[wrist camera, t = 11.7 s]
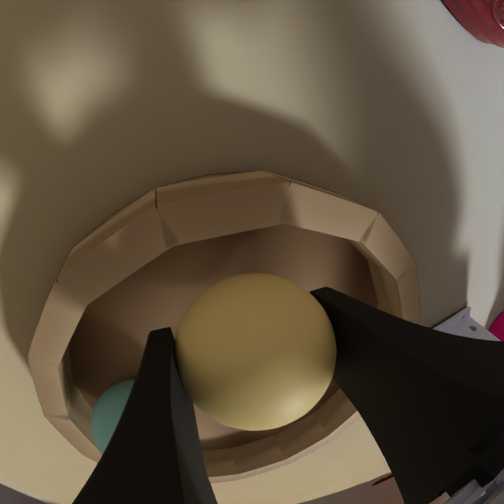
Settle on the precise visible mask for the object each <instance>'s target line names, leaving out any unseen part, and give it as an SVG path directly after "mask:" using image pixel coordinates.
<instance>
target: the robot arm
mask: <svg viewBox="0 0 504 504" xmlns="http://www.w3.org/2000/svg"><path fill="white" fill-rule="evenodd" d="M310 294H311V295H312V296H313V297H314V298H315V299H316V300H317V301H318V302H319V303H320V305H321V306H322V307H323V309H324V310H325V312H326V314H327V316H328V318H329V319H330V321H331V324H332V327H333V331H334V334H335V339H336V348H337V353H336V365H335V369H334V373H333V376H332V378H333V379H334V380H335V382H336V383H337V384H338V386H339V387H340V388H341V390H342V391H343V392H344V394H345V395H346V396H347V397H348V399H349V400H350V401H351V403H352V404H353V405H354V407H355V408H356V409H357V411H358V412H359V414H360V415H361V417H362V418H363V420H364V422H365V423H366V425H367V427H368V428H369V430H370V432H371V433H372V435H373V437H374V439H375V441H376V442H377V444H378V446H379V448H380V450H381V452H382V454H383V455H384V457H385V459H386V461H387V463H388V466H389V468H390V470H391V472H392V474H393V476H394V478H395V481H396V483H397V485H398V488H399V490H400V492H401V495H402V497H403V500H404V503H405V504H429V503H430V502H432V501H433V500H435V499H436V498H438V497H439V496H441V495H442V494H443V493H444V492H445V491H446V492H447V493H448V495H449V496H450V498H449V499H448V500H447V501H446V502H444V504H504V341H500V340H499V339H498V338H497V337H495V336H494V335H493V334H492V333H490V332H489V331H488V330H487V329H485V328H484V327H483V326H481V325H480V324H479V323H478V322H476V321H475V320H474V319H472V318H471V317H470V313H471V310H472V308H471V307H469V306H468V307H466V308H465V309H463V310H462V311H460V312H459V313H457V314H456V315H454V316H452V317H451V318H449V319H448V320H446V321H444V322H443V323H441V324H439V325H438V326H436V327H434V328H433V329H431V328H428V327H424V326H421V325H418V324H415V323H412V322H410V321H407V320H404V319H402V318H399V317H396V316H394V315H392V314H389V313H387V312H384V311H382V310H380V309H377V308H375V307H373V306H370V305H368V304H366V303H364V302H361V301H359V300H357V299H355V298H353V297H350V296H348V295H346V294H344V293H342V292H339V291H337V290H334V289H332V288H329V287H327V286H326V287H323V288H319V289H316V290H312V291H310ZM72 504H217V501H216V498H215V496H214V493H213V490H212V487H211V484H210V481H209V478H208V475H207V472H206V468H205V464H204V460H203V455H202V450H201V444H200V439H199V433H198V428H197V422H196V416H195V410H194V404H193V401H192V400H191V399H190V398H189V396H188V395H187V394H186V391H185V389H184V387H183V384H182V381H181V377H180V373H179V369H178V364H177V358H176V352H175V339H174V336H173V333H172V330H171V327H166V328H162V329H157V330H152V331H150V333H149V334H148V337H147V342H146V345H145V349H144V353H143V356H142V359H141V363H140V366H139V369H138V372H137V375H136V378H135V381H134V384H133V387H132V389H131V392H130V395H129V397H128V400H127V402H126V405H125V407H124V410H123V412H122V415H121V417H120V419H119V422H118V424H117V426H116V428H115V431H114V433H113V435H112V437H111V439H110V441H109V443H108V445H107V447H106V449H105V451H104V453H103V454H102V456H101V458H100V460H99V462H98V464H97V466H96V467H95V469H94V471H93V472H92V474H91V476H90V477H89V479H88V481H87V482H86V484H85V485H84V487H83V488H82V490H81V491H80V493H79V494H78V496H77V497H76V499H75V500H74V502H73V503H72Z"/></svg>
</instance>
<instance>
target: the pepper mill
mask: <svg viewBox="0 0 504 504" xmlns="http://www.w3.org/2000/svg"><path fill="white" fill-rule="evenodd" d="M489 332H490V333H492V334H493V335H494V336H495V337H497V338H498V339H499V340H500V341H504V312H502V313H501V314H500V315H499V316H498V317H497V319H496V320H495V321H494V323H493V324H492V326H491V327H490V329H489Z"/></svg>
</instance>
